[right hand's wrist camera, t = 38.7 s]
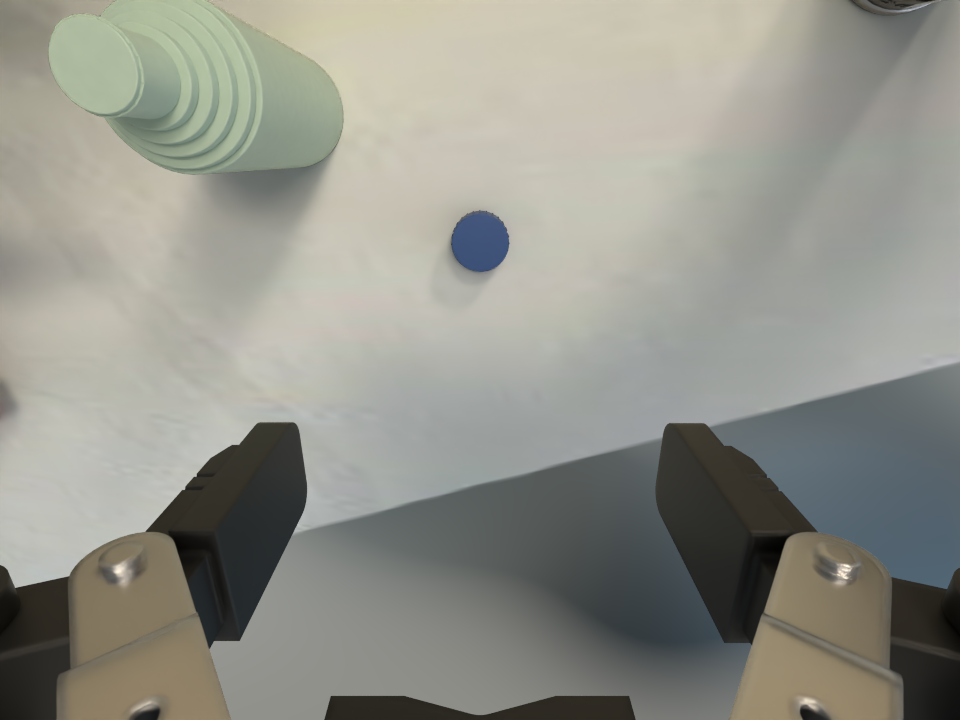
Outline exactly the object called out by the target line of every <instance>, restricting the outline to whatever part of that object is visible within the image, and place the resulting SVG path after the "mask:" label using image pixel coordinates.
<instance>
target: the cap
mask: <svg viewBox="0 0 960 720" xmlns="http://www.w3.org/2000/svg"><path fill="white" fill-rule="evenodd" d="M453 232H454V233H453V235H452V244H451V245H452V248H453V252H454V255H455V257H456V258H457V260H458V261H459V262H460V263H461V264H462V265H463V266H464V267H466V268H468V269H470V270H473V271H479V272H482V271H488V270H491V269H493V268H495V267H496V266H498V265H499V264H500V263H501V262H502V261H503V260H504V258H505V257H506V254H507V252H508V247H509V238H508V237H509V235H508V233H507V229H506V227H505V226H504V223H503V221H501V220H500V219H499V217H497V216H495V215H494V214H493V213H489V212H487V211H486V212H485V211H480V210H479V211H475V212H474V211H473V212H472V213H469V214H468V213H467V215H466V216H464V217H462V218H461V220H460V221H459V222H457V225H456V228H454V231H453Z"/></svg>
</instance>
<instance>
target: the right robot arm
mask: <svg viewBox="0 0 960 720" xmlns="http://www.w3.org/2000/svg"><path fill="white" fill-rule="evenodd" d="M853 1H854V2H855V3H856V4H857V5H858V6H860V7H861V8H863V9H865V10H867V11H869V12H872V13H875V14H880V15H897V14H903V13H906V12H910V11H913V10H916V9H919V8H921V7H924V6H926V5H929V4H931V3H935V2H939V1H944V0H853ZM306 498H307V481H306V474H305V468H304V461H303V454H302V447H301V440H300V433H299V429H298V427H297V425H296V424H295V423H293V422H260V423H257V424H256V425H255V426H254V428H253V429H252V430H251V431H250V432H249V434H248V435H247V436H246V437H245V439H244V440H243V441H242V442H241V443H240V445H231V446H230V447H228V448H226V449H225V450H223V451H222V452H220V453H218V454H217V455H215V456H214V457H212V458H210V460H209V461H208V462H207V463H206V464H205V465H204V466H203V467H202V469H201V470H200V471H199V472H198V473H197V477H194V478H193V479H192V480H191V481H190V482H189V483H188V484H187V485H186V487H185V490H182V491H181V492H180V493H179V494H178V496H177V497H176V498H175V499H174V500H173V501H172V502H171V504H170V505H169V506H168V507H167V508H166V509H165V510H164V511H163V513H162V514H161V515H160V516H159V517H158V518H157V519H156V520H155V522H154V523H153V524H152V525H151V526H150V527H149V528H148V529H147V531H146V532H142V533H135V534H131V535H127V536H124V537H120V538H118V539H115V540H113V541H110V542H108V543H106V544H104V545H102V546H100V547H99V548H97V549H95V550H94V551H92V552H91V553H89V554H88V555H87V556H85V557H84V558H83V559H82V560H81V561H80V562H79V563H78V564H77V565H76V566H75V567H74V569H73V570H72V572H71V574H70V576H69V577H64V578H59V579H55V580H50V581H46V582H41V583H36V584H32V585H27V586H23V587H18V588H15V587H14V584H13V582H12V580H11V577H10V575H9V573H8V570H7V569H6V568H5V567H3V566H1V565H0V720H231V717H230V714H229V711H228V708H227V705H226V701H225V698H224V695H223V692H222V688H221V685H220V682H219V679H218V676H217V672H216V669H215V666H214V663H213V660H212V656H211V653H210V650H209V649H210V647H211V645H212V644H213V642H214V641H240V639H241V637H242V635H243V633H244V631H245V629H246V627H247V625H248V623H249V621H250V619H251V617H252V615H253V613H254V611H255V609H256V607H257V605H258V603H259V600H260V599H261V596H262V594H263V592H264V590H265V588H266V586H267V584H268V582H269V580H270V578H271V576H272V574H273V572H274V570H275V568H276V566H277V564H278V562H279V560H280V558H281V556H282V554H283V552H284V550H285V548H286V546H287V544H288V542H289V540H290V538H291V536H292V534H293V532H294V530H295V528H296V526H297V524H298V522H299V520H300V518H301V516H302V513H303V511H304V508H305V504H306ZM656 501H657V506H658V510H659V513H660V515H661V517H662V519H663V521H664V523H665V525H666V527H667V529H668V531H669V533H670V535H671V537H672V539H673V541H674V543H675V545H676V547H677V549H678V551H679V553H680V555H681V557H682V559H683V561H684V563H685V565H686V567H687V569H688V571H689V573H690V575H691V577H692V579H693V581H694V583H695V585H696V587H697V589H698V591H699V593H700V595H701V597H702V599H703V601H704V603H705V605H706V607H707V609H708V611H709V613H710V615H711V617H712V619H713V621H714V623H715V625H716V627H717V629H718V631H719V633H720V635H721V637H722V639H723V641H724V643H751V645H752V647H751V650H750V653H749V656H748V660H747V663H746V666H745V669H744V673H743V676H742V679H741V682H740V685H739V689H738V692H737V695H736V698H735V701H734V705H733V708H732V711H731V714H730V717H729V720H960V568H958V569H957V570H956V571H955V572H954V575H953V577H952V579H951V582H950V584H949V586H948V589H943V588H938V587H934V586H929V585H924V584H920V583H915V582H911V581H906V580H901V579H897V578H893V577H891V576H890V574H889V572H888V570H887V569H886V567H885V566H884V565H883V564H882V563H881V562H880V561H879V560H878V559H877V558H876V557H875V556H873V555H872V554H871V553H869V552H868V551H866V550H865V549H863V548H861V547H860V546H858V545H856V544H854V543H852V542H850V541H847V540H845V539H842V538H839V537H836V536H833V535H829V534H825V533H818V532H817V531H816V529H815V528H814V527H813V526H812V525H811V524H810V523H809V522H808V521H807V519H806V518H805V517H804V516H803V515H802V514H801V513H800V512H799V510H798V509H797V508H796V507H795V506H794V505H793V504H792V503H791V501H790V500H789V499H788V498H787V497H786V496H785V495H784V494H783V493H782V492H781V491H779V490H778V487H777V486H776V485H775V484H774V482H773V481H772V480H771V479H770V478H767V475H766V474H765V472H764V471H763V470H762V469H761V468H760V467H759V466H758V465H757V463H756V462H755V461H754V460H753V459H751V458H750V457H748V456H747V455H745V454H743V453H742V452H740V451H738V450H737V449H735V448H733V447H732V446H724V445H723V444H722V443H721V442H720V440H719V439H718V438H717V437H716V436H715V434H714V433H713V432H712V431H711V430H710V428H709V427H708V426H707V425H706V424H704V423H669V424H667V425H666V427H665V429H664V433H663V439H662V446H661V453H660V460H659V467H658V473H657V480H656ZM325 720H635V716H634V712H633V709H632V705H631V701H630V698H629V696H554V697H551V698H547V699H543V700H539V701H536V702H532V703H528V704H525V705H521V706H517V707H513V708H510V709H506V710H502V711H499V712H495V713H491V714H487V715H473V714H469V713H465V712H462V711H458V710H454V709H450V708H447V707H443V706H439V705H435V704H432V703H428V702H424V701H421V700H417V699H413V698H409V697H406V696H331V698H330V701H329V705H328V709H327V712H326V716H325Z"/></svg>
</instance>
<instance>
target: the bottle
mask: <svg viewBox="0 0 960 720" xmlns="http://www.w3.org/2000/svg"><path fill="white" fill-rule="evenodd" d="M54 29H55V30H54V32H53V34H52V36H51V38H50V42H49V48H48V56H49V63H50V67H51V71H52V73H53V76H54V78H55V80H56V82H57V84H58V85H59V87H60V88H61V90H62V91H63V92H64V93H65V95H66V96H67V97H68V98H69V99H71V100H72V101H73V102H74V103H75V104H77V105H78V106H80V107H81V108H83V109H85V110H86V111H88V112H90V113H92V114H95V115H97V116H101V117H105V119H106V120H107V122H108V123H109V125H110V126H111V127H112V129H113V130H114V131H115V132H116V134H117V135H118V136H119V137H120V138H121V139H122V140H123V141H124V142H125V143H126V144H128V145H129V146H130V147H131V148H132V149H134V150H135V151H136V152H138V153H139V154H140V155H142V156H143V157H145V158H146V159H148V160H149V161H151V162H152V163H154V164H156V165H158V166H160V167H163V168H165V169H168V170H171V171H174V172H178V173H183V174H192V175H196V174H214V173H228V172H242V171H256V170H270V169H283V168H297V167H306V166H310V165H313V164H316V163H318V162H320V161H321V160H323V159H324V158H325V157H327V156H328V155H329V154H330V153H331V151H332V150H333V149H334V148H335V146H336V144H337V142H338V140H339V138H340V135H341V131H342V127H343V107H342V102H341V98H340V95H339V92H338V90H337V88H336V86H335V84H334V82H333V81H332V79H331V78H330V76H329V75H328V74H327V72H326V71H325V70H324V69H323V68H322V67H321V66H320V65H318V64H317V63H316V62H314V61H313V60H311V59H310V58H308V57H306V56H304V55H303V54H301V53H299V52H297V51H296V50H294V49H292V48H290V47H288V46H287V45H285V44H283V43H281V42H280V41H278V40H276V39H274V38H272V37H271V36H269V35H267V34H265V33H264V32H262V31H260V30H258V29H256V28H255V27H253V26H251V25H249V24H248V23H246V22H244V21H242V20H240V19H239V18H237V17H235V16H233V15H232V14H230V13H228V12H226V11H224V10H223V9H221V8H219V7H217V6H216V5H214V4H212V3H210V2H208V1H207V0H115V1H114V2H113V3H112V4H111V5H109V6H108V7H107V8H106V9H105V11H104V12H103V13H102V14H101V15H100V17H99V16H95V15H90V14H85V13H83V14H75V15H70V16H68V17H67V18H65V19H63V20H61V21H60V22H59V23H58V24H57V25H56V26H55V27H54Z"/></svg>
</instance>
